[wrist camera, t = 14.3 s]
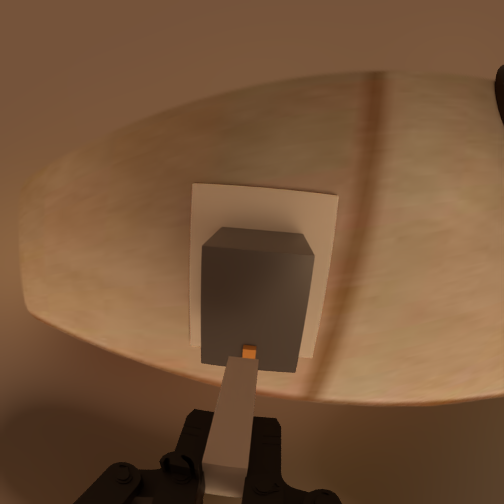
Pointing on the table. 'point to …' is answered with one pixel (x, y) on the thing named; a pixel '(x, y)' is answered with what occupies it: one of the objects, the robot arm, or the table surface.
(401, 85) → the table surface
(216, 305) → the dark grey block
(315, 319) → the board
